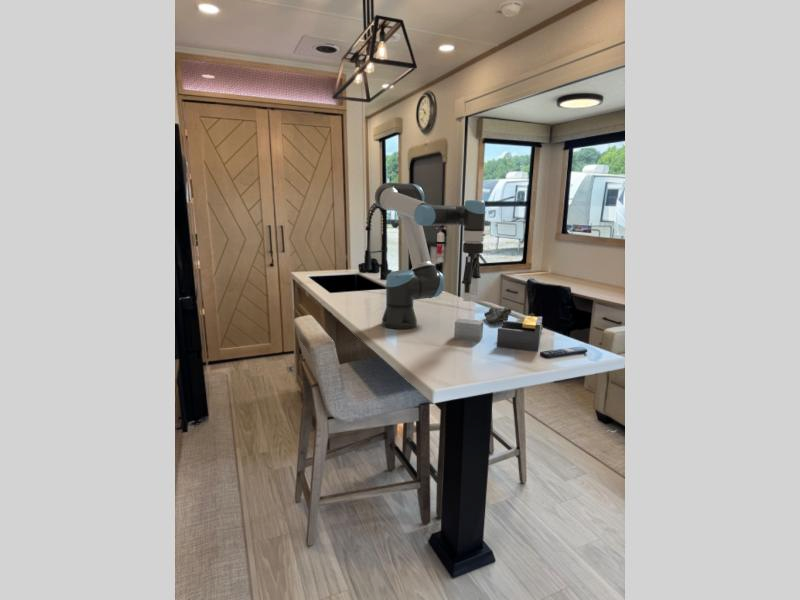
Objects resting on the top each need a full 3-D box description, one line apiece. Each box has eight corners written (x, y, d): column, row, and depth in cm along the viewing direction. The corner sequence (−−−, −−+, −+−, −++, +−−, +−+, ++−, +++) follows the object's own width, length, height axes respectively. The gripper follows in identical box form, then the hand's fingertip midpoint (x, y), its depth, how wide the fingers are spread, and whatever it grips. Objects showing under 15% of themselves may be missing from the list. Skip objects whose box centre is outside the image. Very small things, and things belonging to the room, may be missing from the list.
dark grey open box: (496, 346, 162) (498, 320, 160) (501, 337, 174) (503, 312, 172) (537, 351, 157) (540, 325, 155) (540, 341, 169) (542, 316, 167)
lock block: (454, 339, 171) (454, 321, 170) (457, 335, 177) (458, 318, 175) (479, 342, 168) (480, 324, 167) (482, 338, 174) (483, 321, 172)
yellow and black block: (541, 337, 177) (548, 317, 181) (516, 326, 178) (523, 306, 183) (533, 346, 186) (539, 326, 190) (509, 335, 187) (515, 316, 191)
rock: (491, 324, 191) (503, 304, 190) (474, 313, 202) (486, 294, 201) (509, 334, 198) (521, 315, 197) (492, 323, 209) (504, 305, 208)
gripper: (477, 245, 152) (474, 304, 156) (488, 240, 175) (485, 292, 179) (455, 244, 154) (453, 303, 159) (470, 239, 177) (467, 291, 182)
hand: (470, 297), depth 169 cm, fingers open, 13 cm apart
